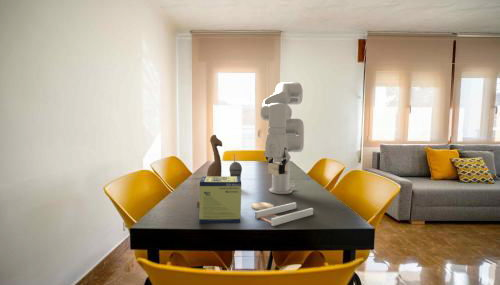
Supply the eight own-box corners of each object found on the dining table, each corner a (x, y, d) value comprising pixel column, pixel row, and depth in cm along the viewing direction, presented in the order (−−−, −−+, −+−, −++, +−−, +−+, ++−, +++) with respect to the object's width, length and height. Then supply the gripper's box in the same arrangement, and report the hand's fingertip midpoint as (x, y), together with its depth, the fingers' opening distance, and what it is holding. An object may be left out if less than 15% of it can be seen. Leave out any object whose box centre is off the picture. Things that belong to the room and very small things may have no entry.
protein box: (241, 223, 95) (241, 181, 94) (198, 223, 94) (198, 181, 93) (239, 213, 106) (240, 176, 105) (201, 214, 104) (201, 176, 103)
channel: (294, 207, 114) (294, 202, 114) (313, 214, 106) (313, 208, 106) (255, 217, 101) (255, 211, 101) (272, 226, 93) (273, 219, 92)
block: (277, 172, 118) (277, 162, 118) (287, 174, 114) (287, 163, 113) (267, 173, 115) (268, 163, 114) (277, 175, 110) (277, 164, 110)
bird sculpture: (221, 209, 111) (224, 135, 109) (196, 206, 113) (199, 134, 112) (229, 202, 122) (231, 135, 120) (205, 200, 124) (208, 133, 123)
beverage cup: (237, 191, 142) (237, 155, 140) (226, 189, 145) (226, 154, 144) (244, 188, 148) (244, 154, 146) (233, 187, 152) (234, 153, 150)
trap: (272, 214, 105) (272, 213, 105) (286, 220, 99) (286, 219, 98) (259, 218, 100) (259, 217, 100) (272, 224, 94) (272, 223, 94)
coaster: (264, 202, 122) (264, 201, 121) (278, 207, 114) (278, 206, 113) (246, 206, 116) (246, 204, 116) (260, 212, 108) (261, 210, 108)
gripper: (257, 131, 117) (257, 170, 118) (285, 132, 104) (284, 176, 105) (269, 131, 122) (269, 169, 123) (298, 132, 108) (297, 174, 109)
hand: (276, 172), depth 114 cm, fingers closed on block, 6 cm apart
